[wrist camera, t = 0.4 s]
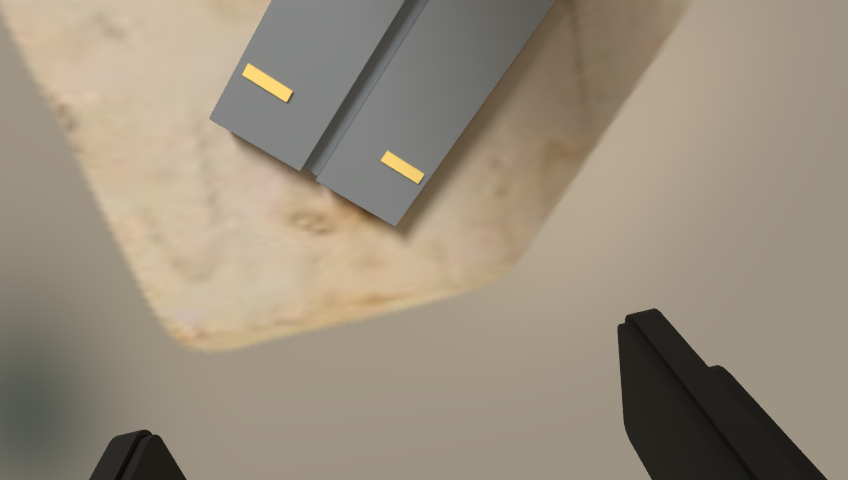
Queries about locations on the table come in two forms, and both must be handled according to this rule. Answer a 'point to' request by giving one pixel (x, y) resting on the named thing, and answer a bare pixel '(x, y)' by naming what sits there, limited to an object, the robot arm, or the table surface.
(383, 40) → the fader board
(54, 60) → the table surface
